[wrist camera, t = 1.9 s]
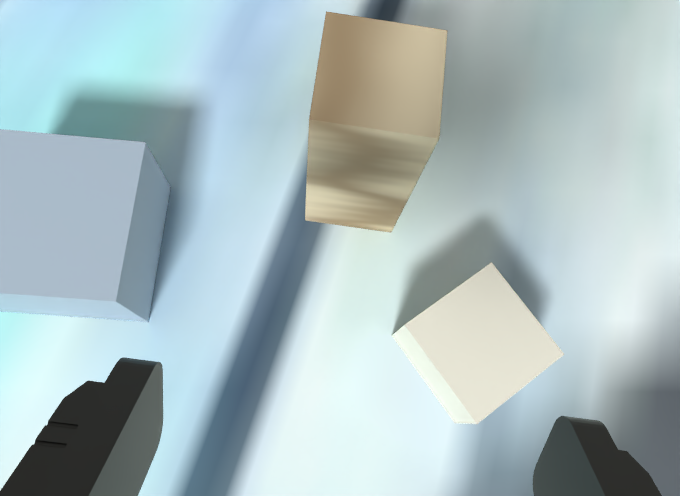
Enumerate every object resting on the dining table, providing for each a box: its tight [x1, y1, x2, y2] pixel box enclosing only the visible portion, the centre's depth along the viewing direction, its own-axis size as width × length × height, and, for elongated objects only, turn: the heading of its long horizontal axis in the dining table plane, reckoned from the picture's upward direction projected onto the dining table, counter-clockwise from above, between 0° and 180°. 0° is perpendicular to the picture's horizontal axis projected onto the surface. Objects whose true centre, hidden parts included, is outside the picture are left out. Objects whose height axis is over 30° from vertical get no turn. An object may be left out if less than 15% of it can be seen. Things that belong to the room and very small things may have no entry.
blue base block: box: [0, 129, 171, 322], centre depth 24 cm, size 7×7×5 cm
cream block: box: [392, 262, 564, 424], centre depth 25 cm, size 5×5×4 cm
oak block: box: [305, 12, 447, 232], centre depth 24 cm, size 4×4×10 cm
